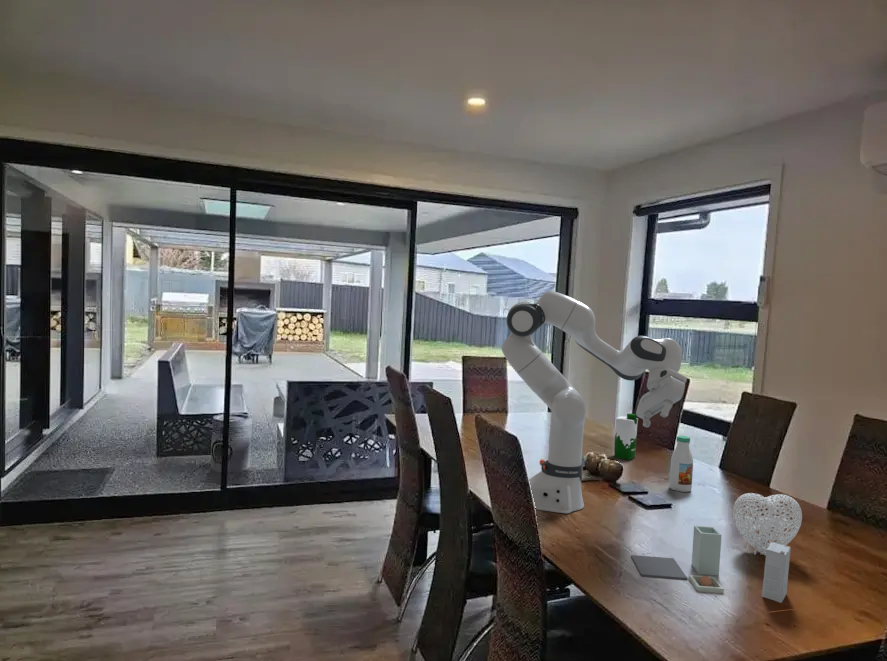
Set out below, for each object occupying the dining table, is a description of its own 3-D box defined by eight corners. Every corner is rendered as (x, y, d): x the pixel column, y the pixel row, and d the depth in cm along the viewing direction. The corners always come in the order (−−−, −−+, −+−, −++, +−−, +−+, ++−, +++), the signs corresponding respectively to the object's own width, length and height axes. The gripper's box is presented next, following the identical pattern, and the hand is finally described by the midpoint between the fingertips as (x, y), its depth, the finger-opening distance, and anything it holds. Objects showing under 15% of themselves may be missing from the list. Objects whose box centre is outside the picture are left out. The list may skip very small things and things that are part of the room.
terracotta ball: (702, 589, 136) (702, 578, 136) (698, 583, 139) (698, 573, 139) (713, 589, 136) (713, 579, 136) (709, 584, 139) (709, 574, 139)
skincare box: (766, 589, 138) (769, 540, 138) (787, 596, 135) (791, 546, 135) (760, 599, 133) (764, 548, 133) (782, 606, 131) (786, 554, 130)
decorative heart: (785, 548, 164) (789, 489, 163) (808, 565, 153) (813, 502, 152) (722, 545, 164) (726, 486, 163) (741, 561, 153) (745, 499, 152)
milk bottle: (669, 490, 212) (672, 437, 212) (669, 484, 220) (672, 433, 219) (691, 493, 210) (695, 440, 209) (691, 488, 217) (694, 436, 216)
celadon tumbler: (698, 575, 144) (701, 533, 144) (691, 566, 149) (694, 525, 149) (718, 577, 144) (721, 534, 143) (711, 568, 149) (713, 527, 148)
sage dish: (697, 594, 135) (697, 586, 135) (688, 582, 141) (689, 574, 141) (723, 596, 134) (723, 588, 134) (713, 584, 140) (714, 576, 140)
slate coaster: (641, 578, 141) (641, 574, 141) (630, 558, 152) (631, 554, 152) (687, 581, 140) (687, 577, 140) (673, 561, 151) (673, 558, 151)
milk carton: (631, 461, 252) (634, 416, 251) (611, 457, 257) (613, 413, 257) (637, 457, 259) (640, 413, 258) (617, 453, 265) (620, 410, 264)
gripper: (635, 391, 189) (627, 427, 182) (672, 366, 172) (665, 405, 165) (652, 399, 190) (645, 435, 182) (690, 375, 172) (684, 414, 165)
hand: (654, 421), depth 173 cm, fingers open, 8 cm apart
